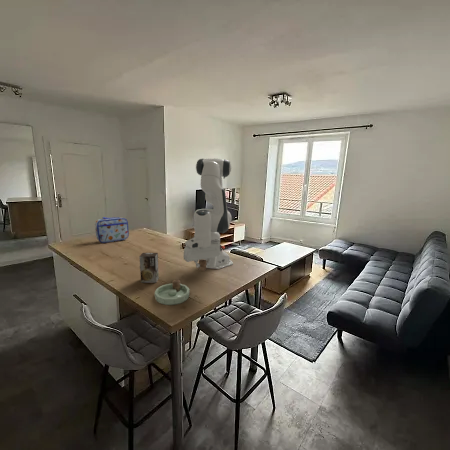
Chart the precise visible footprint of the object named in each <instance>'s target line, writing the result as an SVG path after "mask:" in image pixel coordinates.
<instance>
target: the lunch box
mask: <svg viewBox="0 0 450 450" xmlns="http://www.w3.org/2000/svg"><path fill="white" fill-rule="evenodd" d="M94 222H95V224H94V225H95V226H94V227H95V229H94V231H95V236H96V239H97V240H98V242H100V243H102V244H107V243H113V242H114V241H115V242H118V241H119V242H120V241H123V240H126V239H128V238H129V236H130V235H129V234H130V233H129V222H128V220H127V218H124V217H106V216H103V217H102V218H99V219H96V220H95V221H94Z"/></svg>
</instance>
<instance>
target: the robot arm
mask: <svg viewBox="0 0 450 450" xmlns="http://www.w3.org/2000/svg"><path fill="white" fill-rule="evenodd" d="M195 170H196V171H195V172H196V174H198V175H199V176H200V189H201V190H202V191H203V192H204V194H205V195H204V196H205V197H204V199H205V201H206V202H207V203H208V204H210V205H212V208H213V209H212V208H201V209H196V210H195V212H193V221H194V222H193V229H194V235H193V237H192V238H190V239H188V240H186V241H184V242H185V243H184V244H185V247H184V249H183V260H184V261H186V262H187V263H189V262H194V263H195V267H196V268H198V269H199V267H200V264H199V260H201V259H205V260H206V269H215V270H219V269H222V268H226V267H229V266H232V265H233V264H234V262H233V261H232V260H231V257H230V255H229V254H228V253H227V252H226V251H224V250H225V248H226V247H225V245H221V234H224V233H227V232H228V231H229V230H230V224H231V222H232V219H233V217H232V214H231V212H230V211H229V210H228V206H227V197H226V195H227V194H226V190H225V188H224V187H223V179H224V180H225V179H226V178H227V177H229V176H230V174H231V172H232V164H231V161H230V159H229V160H228V159H223V158H199V159H198V160H197V161H196V164H195Z"/></svg>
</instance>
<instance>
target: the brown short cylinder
mask: <svg viewBox="0 0 450 450" xmlns="http://www.w3.org/2000/svg"><path fill="white" fill-rule="evenodd" d="M198 263H199V264H200V267H199V268H198V271H200V272H205V271H206V270H207V268H206V260H205V259H201V260H198Z"/></svg>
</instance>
